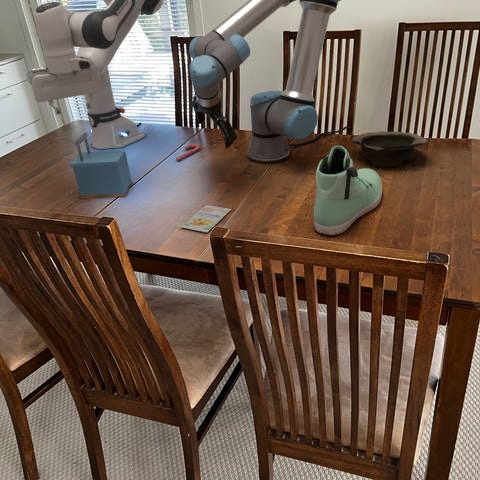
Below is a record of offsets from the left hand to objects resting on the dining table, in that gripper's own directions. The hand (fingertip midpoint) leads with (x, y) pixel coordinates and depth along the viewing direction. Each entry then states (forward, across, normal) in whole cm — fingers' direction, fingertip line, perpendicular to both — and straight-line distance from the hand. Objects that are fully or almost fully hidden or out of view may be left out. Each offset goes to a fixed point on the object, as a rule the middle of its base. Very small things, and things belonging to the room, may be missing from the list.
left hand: (74, 111), depth 148 cm
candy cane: (+27, +38, +14) cm, 49 cm away
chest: (+27, +4, -2) cm, 28 cm away
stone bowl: (+27, +98, -29) cm, 105 cm away
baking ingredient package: (+27, +27, -38) cm, 54 cm away
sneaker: (+27, +65, -54) cm, 89 cm away
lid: (+16, +4, -2) cm, 17 cm away
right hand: (+14, +44, -4) cm, 46 cm away
